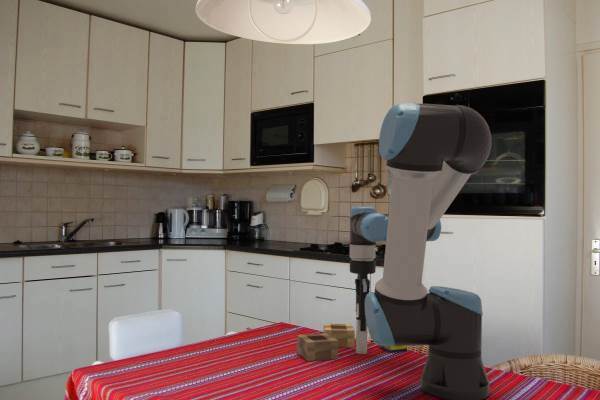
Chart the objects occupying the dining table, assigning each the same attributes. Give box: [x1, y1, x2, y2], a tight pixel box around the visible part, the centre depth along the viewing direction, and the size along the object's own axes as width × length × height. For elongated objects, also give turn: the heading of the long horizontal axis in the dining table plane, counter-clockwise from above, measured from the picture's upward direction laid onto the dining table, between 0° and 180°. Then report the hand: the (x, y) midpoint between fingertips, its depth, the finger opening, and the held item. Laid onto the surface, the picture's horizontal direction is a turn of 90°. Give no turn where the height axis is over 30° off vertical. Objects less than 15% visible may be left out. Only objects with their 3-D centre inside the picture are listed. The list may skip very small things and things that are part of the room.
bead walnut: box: [296, 332, 339, 362], centre depth 143 cm, size 9×9×5 cm
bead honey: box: [322, 323, 356, 348], centre depth 157 cm, size 9×9×5 cm
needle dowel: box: [355, 303, 368, 355], centre depth 147 cm, size 3×3×14 cm
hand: (361, 340), depth 146 cm, fingers closed on needle dowel, 3 cm apart
